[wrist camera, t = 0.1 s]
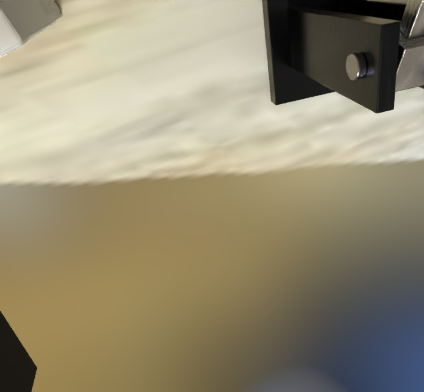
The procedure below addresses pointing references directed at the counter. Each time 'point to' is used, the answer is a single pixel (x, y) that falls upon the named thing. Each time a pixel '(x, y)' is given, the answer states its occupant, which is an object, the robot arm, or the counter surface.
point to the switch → (411, 47)
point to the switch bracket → (334, 49)
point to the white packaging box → (24, 21)
